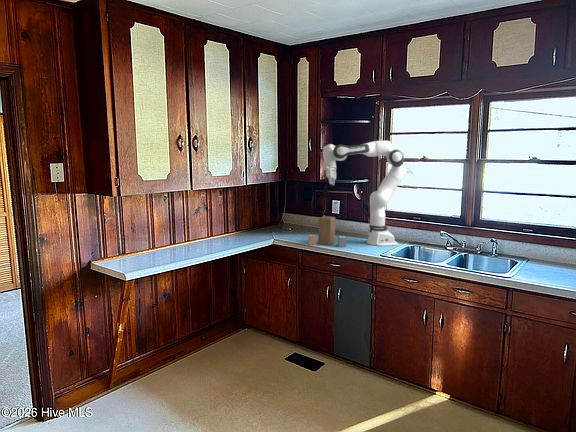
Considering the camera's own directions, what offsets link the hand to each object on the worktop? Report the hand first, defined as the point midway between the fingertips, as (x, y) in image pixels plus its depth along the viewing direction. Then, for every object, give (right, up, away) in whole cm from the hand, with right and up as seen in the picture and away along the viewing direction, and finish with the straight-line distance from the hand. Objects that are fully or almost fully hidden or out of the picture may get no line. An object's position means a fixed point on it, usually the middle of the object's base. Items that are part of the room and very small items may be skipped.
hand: (332, 184), depth 313 cm
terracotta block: (-15, -44, 0) cm, 47 cm away
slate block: (+7, -45, -4) cm, 46 cm away
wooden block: (-4, -44, +4) cm, 44 cm away
